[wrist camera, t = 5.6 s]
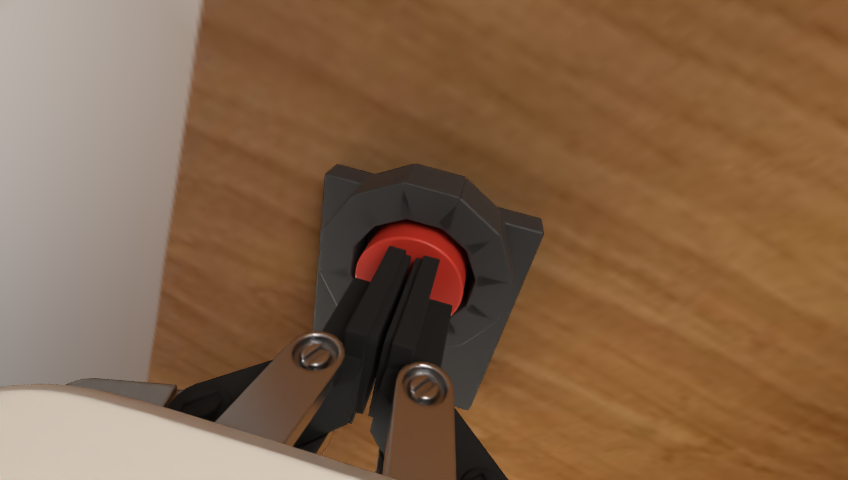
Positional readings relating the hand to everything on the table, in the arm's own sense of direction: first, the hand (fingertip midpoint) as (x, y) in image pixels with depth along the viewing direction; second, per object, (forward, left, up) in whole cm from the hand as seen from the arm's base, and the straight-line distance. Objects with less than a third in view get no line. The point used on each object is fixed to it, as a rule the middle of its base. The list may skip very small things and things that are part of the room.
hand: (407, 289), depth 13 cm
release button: (0, 0, -2) cm, 2 cm away
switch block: (+3, 0, -4) cm, 5 cm away
